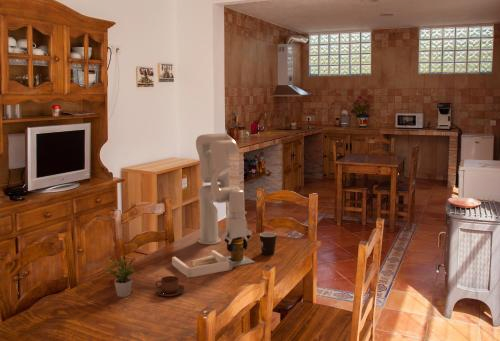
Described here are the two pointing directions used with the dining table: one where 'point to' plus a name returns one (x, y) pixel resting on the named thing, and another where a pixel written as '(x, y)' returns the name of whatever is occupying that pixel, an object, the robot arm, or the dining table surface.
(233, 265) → the mat
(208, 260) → the offcuts
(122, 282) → the house plant
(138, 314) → the dining table surface
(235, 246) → the condiment
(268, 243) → the coffee mug
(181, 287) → the cup and saucer
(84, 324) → the dining table surface
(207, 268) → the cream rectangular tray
